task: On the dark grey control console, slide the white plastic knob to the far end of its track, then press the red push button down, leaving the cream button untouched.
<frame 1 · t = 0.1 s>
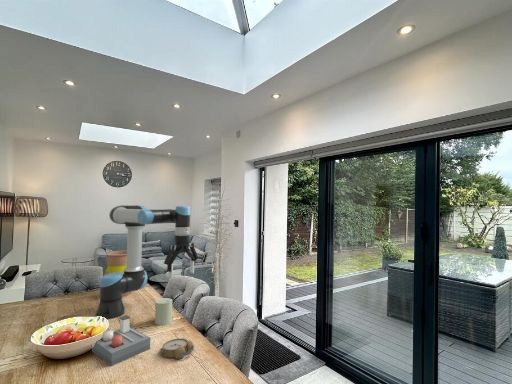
hand: (181, 275, 145), 28 cm above the table, fingers open, 13 cm apart
console: (121, 349, 123), on the table
button cream: (108, 336, 123), point 6 cm above the table, slide at 0.0 cm
slider knob: (124, 324, 130), point 9 cm above the table, slide at 0.0 cm
vase: (119, 294, 200), on the table
can: (163, 322, 153), on the table
button red: (116, 341, 118), point 6 cm above the table, slide at 0.0 cm
alarm clock: (178, 353, 121), on the table
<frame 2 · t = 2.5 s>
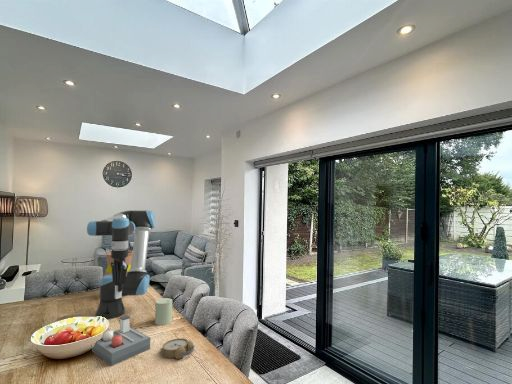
hand: (118, 297, 134), 19 cm above the table, fingers closed
nothing on the table moved.
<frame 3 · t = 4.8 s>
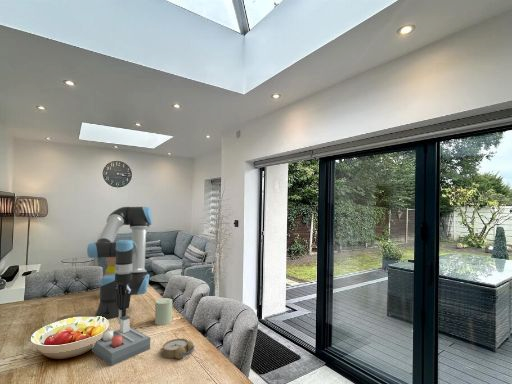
hand: (122, 322, 131), 9 cm above the table, fingers closed
slider knob: (124, 324, 130), point 9 cm above the table, slide at 0.1 cm, touching gripper
everything else where it was.
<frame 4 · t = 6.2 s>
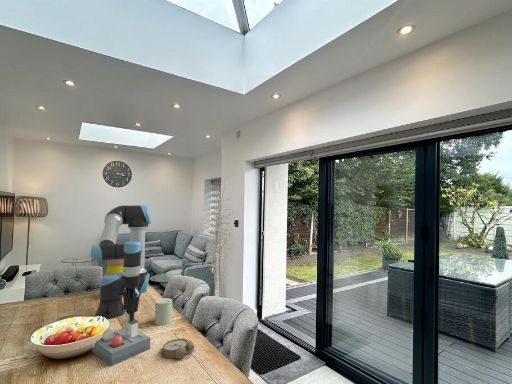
hand: (130, 326, 127), 9 cm above the table, fingers closed
slider knob: (133, 328, 125), point 9 cm above the table, slide at 7.5 cm, touching gripper
everything else where it was.
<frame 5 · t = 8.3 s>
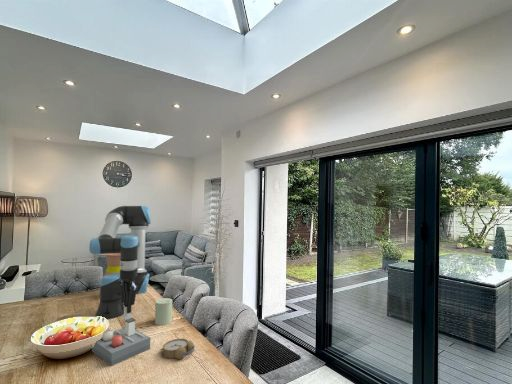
hand: (127, 319, 129), 11 cm above the table, fingers closed
slider knob: (130, 326, 127), point 9 cm above the table, slide at 4.9 cm
everything else where it was.
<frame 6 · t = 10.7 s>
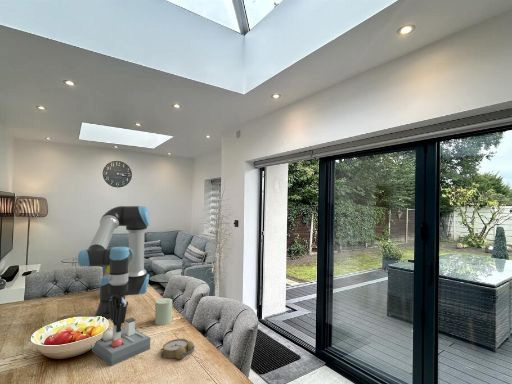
hand: (116, 338, 118), 7 cm above the table, fingers closed
button red: (116, 344, 118), point 5 cm above the table, slide at 1.0 cm, touching gripper
everything else where it was.
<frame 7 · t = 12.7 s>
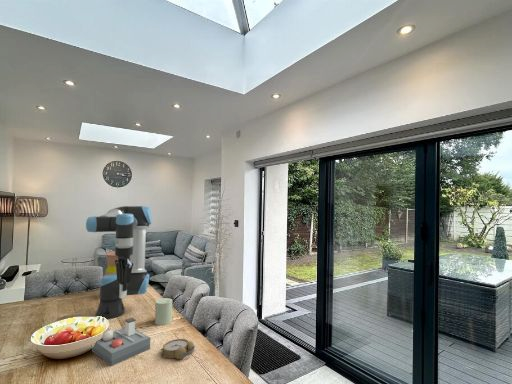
hand: (123, 297, 128), 22 cm above the table, fingers closed
button red: (116, 345, 118), point 4 cm above the table, slide at 1.6 cm
everything else where it was.
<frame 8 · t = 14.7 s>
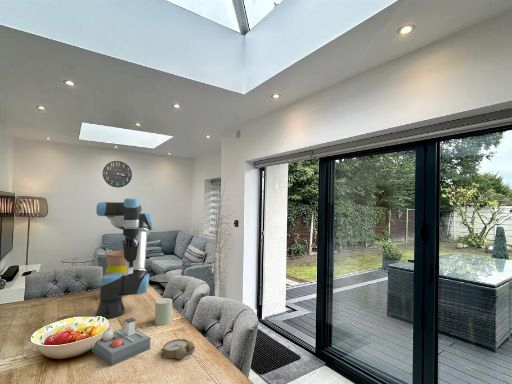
hand: (129, 273, 142), 29 cm above the table, fingers closed
nothing on the table moved.
at the end: slider knob slide at 4.9 cm; button red slide at 1.6 cm; button cream slide at 0.0 cm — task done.
